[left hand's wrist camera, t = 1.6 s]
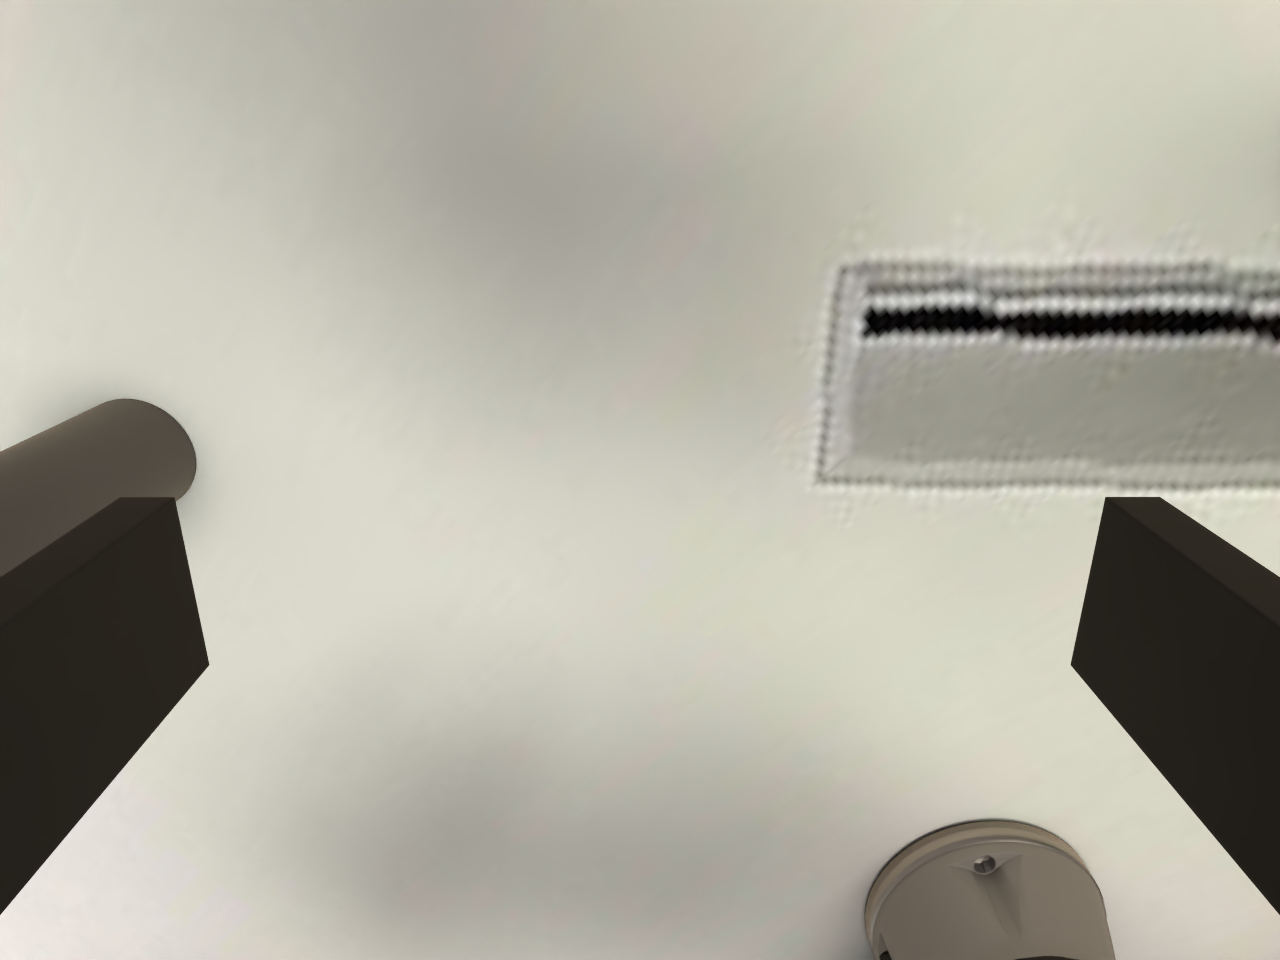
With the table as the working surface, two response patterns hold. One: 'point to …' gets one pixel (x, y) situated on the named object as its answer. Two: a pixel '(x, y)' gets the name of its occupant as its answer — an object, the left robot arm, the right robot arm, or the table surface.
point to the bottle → (87, 472)
